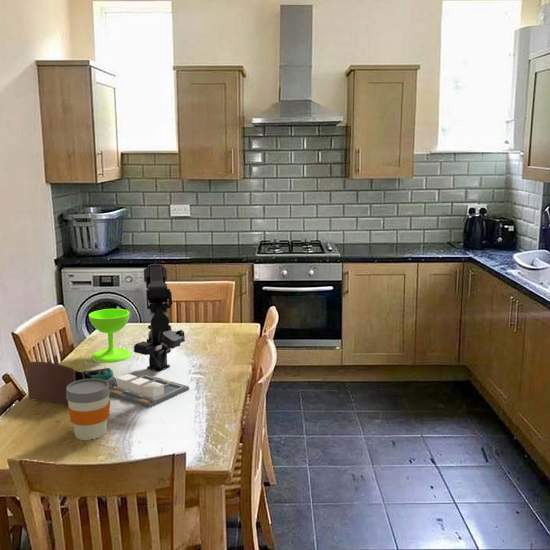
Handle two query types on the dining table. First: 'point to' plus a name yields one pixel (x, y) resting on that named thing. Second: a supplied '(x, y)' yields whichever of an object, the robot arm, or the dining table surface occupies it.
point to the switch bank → (169, 391)
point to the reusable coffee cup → (88, 407)
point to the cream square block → (153, 390)
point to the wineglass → (110, 333)
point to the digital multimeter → (100, 373)
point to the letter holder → (51, 381)
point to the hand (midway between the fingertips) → (160, 366)
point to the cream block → (138, 385)
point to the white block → (125, 381)
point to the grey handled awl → (111, 381)
